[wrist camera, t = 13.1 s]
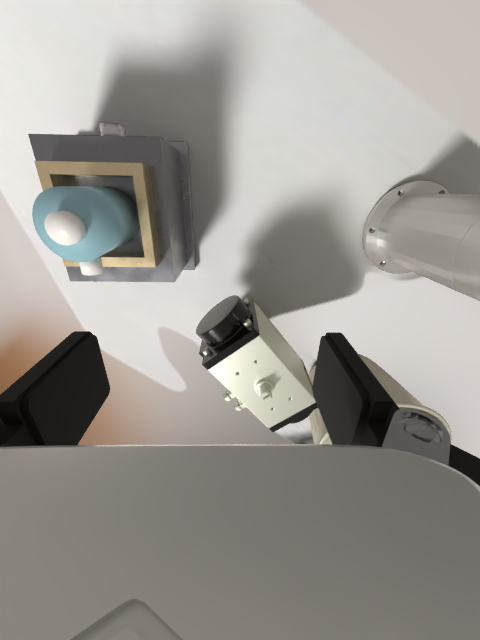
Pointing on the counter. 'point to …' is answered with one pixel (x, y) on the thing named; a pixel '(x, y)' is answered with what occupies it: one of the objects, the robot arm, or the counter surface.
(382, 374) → the canister
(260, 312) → the cream boxy piece
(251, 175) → the counter surface
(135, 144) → the grey box
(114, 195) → the drain pump
